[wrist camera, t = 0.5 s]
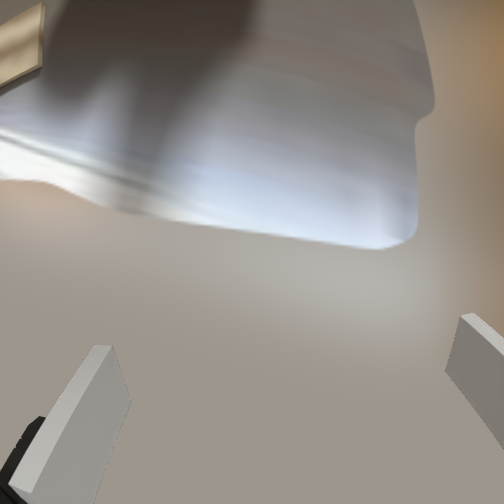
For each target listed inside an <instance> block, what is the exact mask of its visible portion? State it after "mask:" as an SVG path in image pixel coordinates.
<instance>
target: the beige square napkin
mask: <svg viewBox="0 0 504 504" xmlns="http://www.w3.org/2000/svg"><path fill="white" fill-rule="evenodd" d="M45 8H46V5H45V4H44V3H42V2H41V3H39V4H37V5H35V6H34V7H32V8H30V9H28V10H26V11H25V12H23V13H21V14H19V15H18V16H16V17H14V18H13V19H11V20H9V21H8V22H6V23H4V24H3V25H1V26H0V88H1V87H3V86H5V85H7V84H8V83H10V82H12V81H14V80H16V79H18V78H20V77H21V76H23V75H25V74H27V73H29V72H31V71H33V70H35V69H38V68H40V67H42V53H43V32H44V18H45Z"/></svg>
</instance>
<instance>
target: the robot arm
mask: <svg viewBox="0 0 504 504" xmlns="http://www.w3.org/2000/svg"><path fill="white" fill-rule="evenodd" d="M445 372H446V373H447V374H448V376H449V377H450V378H451V380H452V381H453V382H454V383H455V384H456V386H457V387H458V388H459V390H460V391H461V392H462V394H463V395H464V396H465V397H466V399H467V400H468V401H469V403H470V404H471V405H472V407H473V408H474V409H475V411H476V412H477V413H478V415H479V416H480V417H481V419H482V420H483V421H484V423H485V424H486V425H487V427H488V428H489V430H490V431H491V432H492V434H493V435H494V436H495V438H496V439H497V441H498V442H499V444H500V445H501V446H502V448H503V449H504V338H502V337H501V336H500V335H499V334H498V333H497V332H496V331H494V330H493V329H492V328H491V327H490V326H489V325H487V324H486V323H485V322H484V321H483V320H481V319H480V318H479V317H478V316H477V315H475V314H474V313H471V314H466V315H461V316H460V317H459V322H458V327H457V330H456V334H455V338H454V342H453V345H452V349H451V352H450V356H449V359H448V363H447V366H446V369H445ZM130 404H131V399H130V396H129V393H128V391H127V388H126V385H125V382H124V379H123V376H122V373H121V370H120V367H119V364H118V361H117V358H116V355H115V352H114V348H113V345H94V346H93V348H92V349H91V351H90V352H89V353H88V355H87V356H86V358H85V359H84V361H83V362H82V364H81V365H80V367H79V368H78V369H77V371H76V372H75V374H74V376H73V377H72V378H71V380H70V382H69V383H68V385H67V386H66V388H65V389H64V391H63V392H62V394H61V395H60V397H59V399H58V400H57V402H56V403H55V405H54V406H53V408H52V410H51V411H50V413H49V414H48V416H47V417H46V418H45V417H41V416H39V417H38V418H37V419H35V420H34V421H33V422H32V423H31V424H29V425H28V427H27V428H26V430H25V431H24V433H23V435H22V436H21V437H22V438H21V439H19V441H18V443H17V444H16V448H14V449H13V451H12V452H11V454H10V456H9V457H8V459H7V461H6V463H5V464H4V466H3V468H2V469H1V471H0V504H94V501H95V498H96V495H97V492H98V490H99V487H100V484H101V481H102V478H103V475H104V472H105V470H106V467H107V464H108V461H109V459H110V456H111V453H112V451H113V448H114V445H115V442H116V440H117V437H118V435H119V432H120V429H121V427H122V424H123V421H124V419H125V416H126V414H127V411H128V409H129V406H130Z"/></svg>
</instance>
